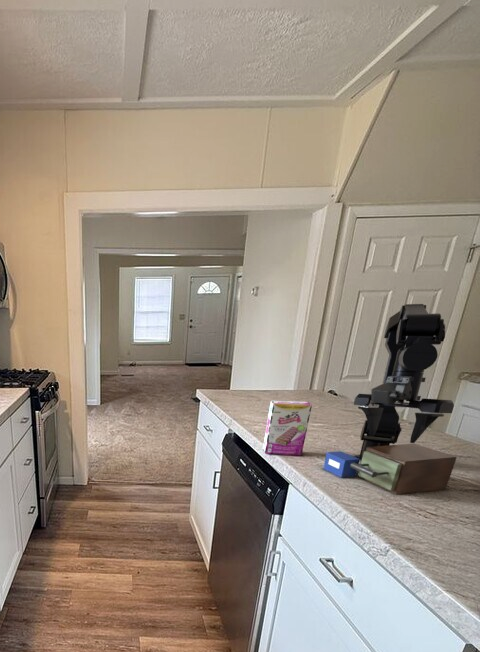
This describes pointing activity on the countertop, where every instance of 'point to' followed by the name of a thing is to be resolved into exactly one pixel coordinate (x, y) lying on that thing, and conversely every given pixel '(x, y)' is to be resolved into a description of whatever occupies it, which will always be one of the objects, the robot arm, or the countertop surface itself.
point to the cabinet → (417, 467)
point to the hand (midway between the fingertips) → (391, 439)
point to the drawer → (378, 469)
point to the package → (340, 464)
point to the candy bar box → (286, 427)
